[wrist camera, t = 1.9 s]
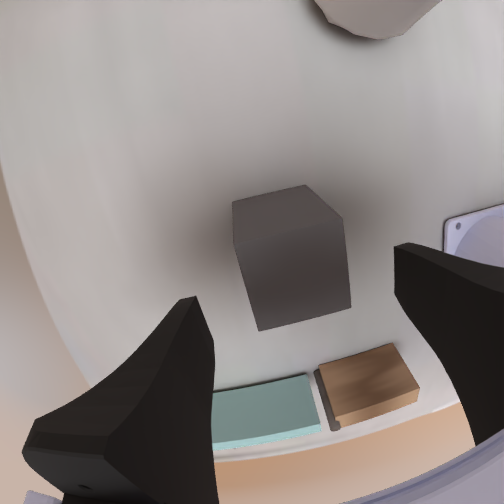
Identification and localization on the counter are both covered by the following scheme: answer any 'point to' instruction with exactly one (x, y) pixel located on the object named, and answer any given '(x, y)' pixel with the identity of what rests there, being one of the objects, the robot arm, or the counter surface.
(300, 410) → the door
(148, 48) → the counter surface
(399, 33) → the salt shaker
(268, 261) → the block
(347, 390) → the wall
